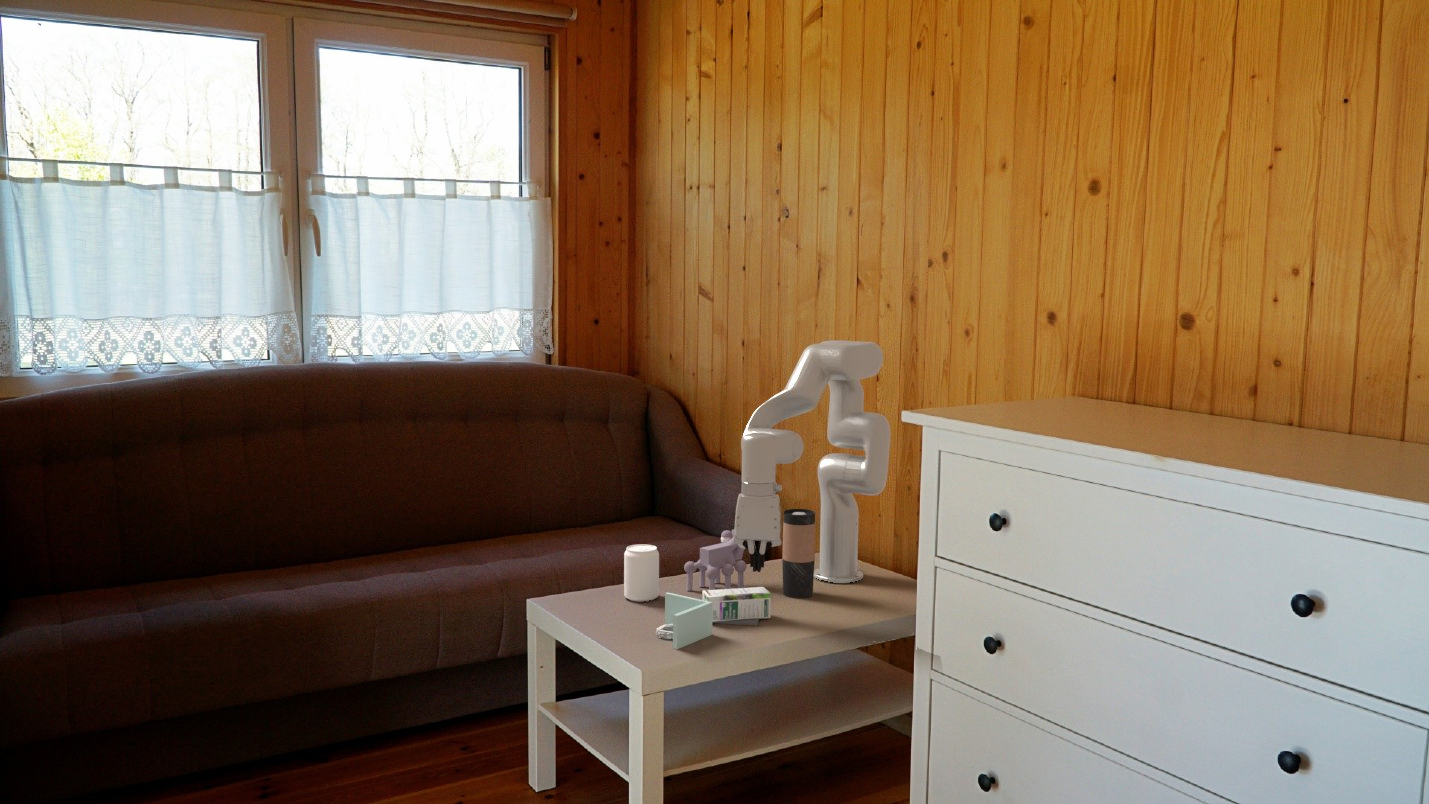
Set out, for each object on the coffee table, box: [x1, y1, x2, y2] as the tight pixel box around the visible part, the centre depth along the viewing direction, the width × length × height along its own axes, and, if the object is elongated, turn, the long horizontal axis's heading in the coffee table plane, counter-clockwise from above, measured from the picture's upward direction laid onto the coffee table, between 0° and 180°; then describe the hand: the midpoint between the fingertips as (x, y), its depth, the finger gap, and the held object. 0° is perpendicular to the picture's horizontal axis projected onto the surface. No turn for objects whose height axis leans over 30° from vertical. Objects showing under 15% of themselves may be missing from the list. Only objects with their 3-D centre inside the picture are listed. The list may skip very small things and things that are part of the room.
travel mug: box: [781, 508, 816, 599], centre depth 255 cm, size 8×8×20 cm
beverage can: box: [623, 543, 660, 603], centre depth 251 cm, size 8×8×12 cm
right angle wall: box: [655, 592, 713, 650], centre depth 224 cm, size 12×12×8 cm
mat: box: [699, 598, 760, 627], centre depth 241 cm, size 16×20×1 cm
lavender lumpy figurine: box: [683, 528, 747, 592], centre depth 262 cm, size 20×11×14 cm, turn 136°
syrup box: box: [702, 586, 772, 622], centre depth 236 cm, size 6×6×14 cm
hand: (757, 570), depth 239 cm, fingers closed
